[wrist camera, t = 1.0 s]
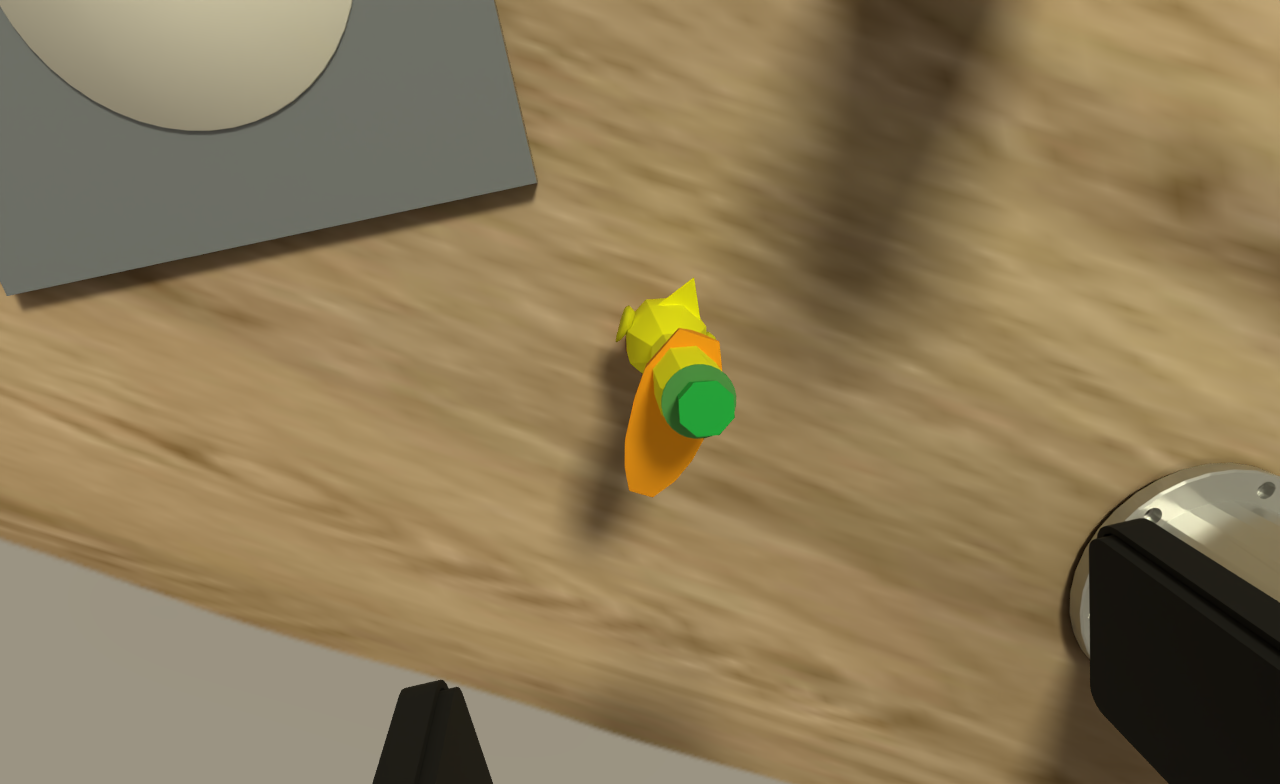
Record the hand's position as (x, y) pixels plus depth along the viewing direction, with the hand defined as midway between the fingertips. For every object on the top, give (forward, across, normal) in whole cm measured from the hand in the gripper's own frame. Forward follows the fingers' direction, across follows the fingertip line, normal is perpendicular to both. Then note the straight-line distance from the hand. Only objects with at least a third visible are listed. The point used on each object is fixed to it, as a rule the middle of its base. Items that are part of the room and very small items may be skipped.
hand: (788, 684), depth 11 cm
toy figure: (+22, 0, 0) cm, 22 cm away
